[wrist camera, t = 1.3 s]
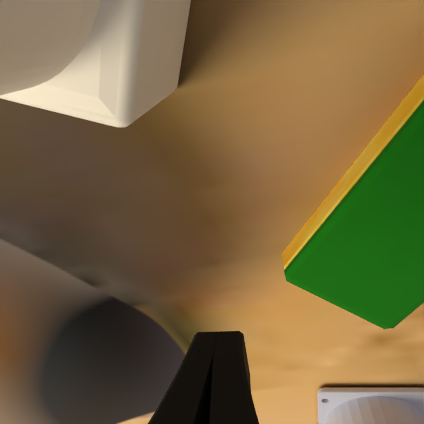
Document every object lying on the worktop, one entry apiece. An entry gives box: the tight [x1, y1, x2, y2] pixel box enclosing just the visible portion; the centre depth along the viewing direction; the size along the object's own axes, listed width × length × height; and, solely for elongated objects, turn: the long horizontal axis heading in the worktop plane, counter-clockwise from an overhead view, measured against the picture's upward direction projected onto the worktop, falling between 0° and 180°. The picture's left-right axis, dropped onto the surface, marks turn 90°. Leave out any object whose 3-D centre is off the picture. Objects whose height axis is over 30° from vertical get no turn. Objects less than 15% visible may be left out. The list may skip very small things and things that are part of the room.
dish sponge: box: [282, 74, 424, 329], centre depth 16 cm, size 7×14×2 cm, turn 153°
